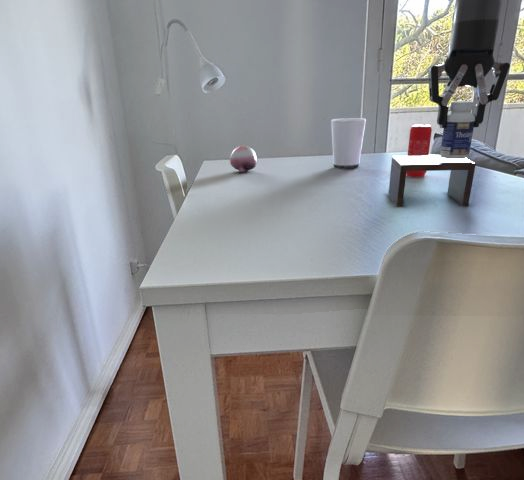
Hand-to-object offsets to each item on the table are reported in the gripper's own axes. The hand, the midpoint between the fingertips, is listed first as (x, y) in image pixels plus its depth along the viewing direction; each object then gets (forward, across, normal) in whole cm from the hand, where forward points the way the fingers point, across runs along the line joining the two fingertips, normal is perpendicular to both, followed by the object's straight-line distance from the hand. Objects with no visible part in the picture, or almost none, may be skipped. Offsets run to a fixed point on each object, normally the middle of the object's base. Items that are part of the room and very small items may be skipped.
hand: (458, 126), depth 90 cm
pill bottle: (+6, 0, 0) cm, 6 cm away
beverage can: (+14, 0, +31) cm, 34 cm away
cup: (+14, -18, +48) cm, 53 cm away
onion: (+14, -48, +43) cm, 66 cm away
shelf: (+14, -4, +3) cm, 15 cm away
